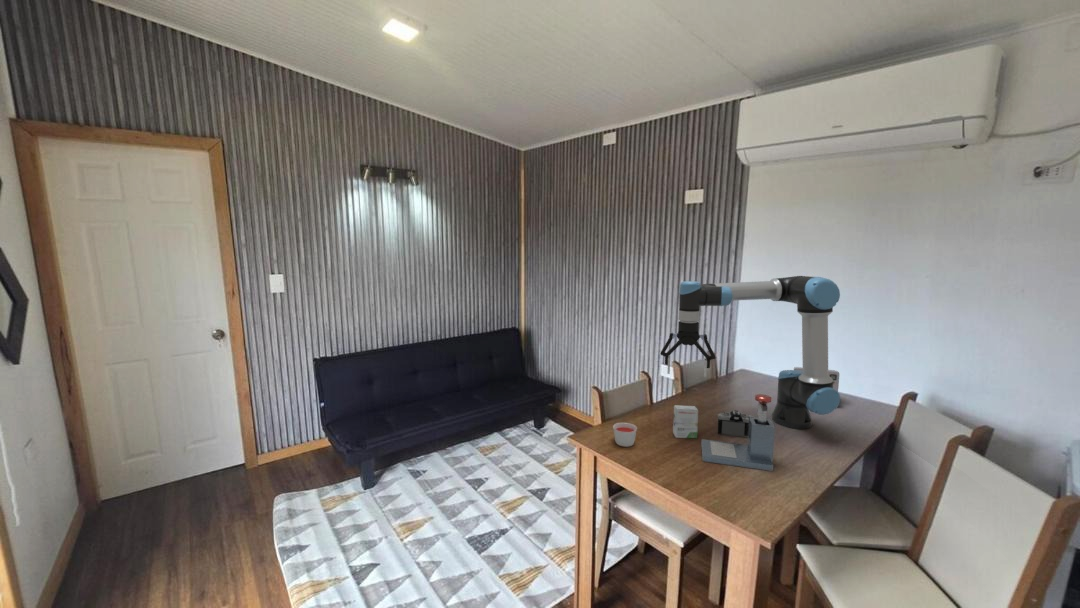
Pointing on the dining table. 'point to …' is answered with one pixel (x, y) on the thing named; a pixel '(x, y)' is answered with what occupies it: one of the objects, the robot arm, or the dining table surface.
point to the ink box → (685, 421)
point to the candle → (624, 434)
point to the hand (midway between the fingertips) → (686, 374)
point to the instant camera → (832, 374)
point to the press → (744, 448)
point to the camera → (733, 423)
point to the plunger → (762, 407)
